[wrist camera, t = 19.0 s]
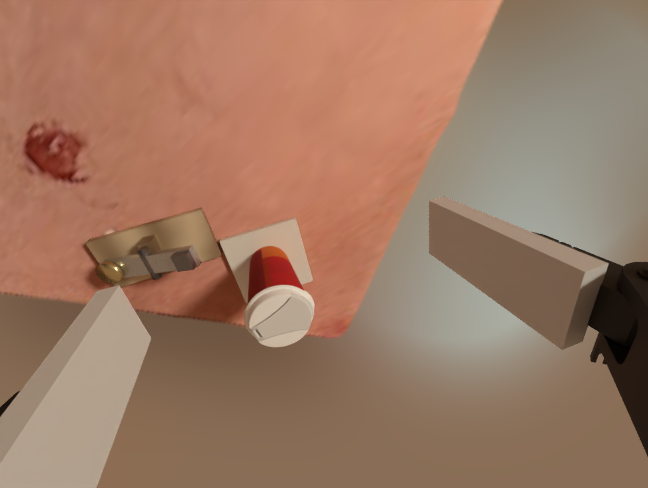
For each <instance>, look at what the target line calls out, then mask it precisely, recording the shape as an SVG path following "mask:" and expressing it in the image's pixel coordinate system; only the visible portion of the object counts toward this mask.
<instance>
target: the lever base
mask: <svg viewBox="0 0 648 488" xmlns="http://www.w3.org/2000/svg"><path fill="white" fill-rule="evenodd" d="M85 244H86V245H87V247H88V248H89V250H90V251H91V252H92V254H93V255H94V257H95V258H96V260H97V261H98V263H101V262H102V261H103V260H105V259H110V258H116V257H122V256H129V255H135V254H138V253H137V251H136V250H137V249H139V248H141V247H144V246H147V247H148V249H149V250H150V252H153V251H160V250H166V249H172V248H178V247H184V246H190V245H193V246H194V248H195V250H196V252H197V254H198V256H199V258H200V260H201V262H204V261H208V260H211V259H214V258H217V257H221V250H220V248H219V246H218V243H217V241H216V239H215V237H214V234H213V232H212V230H211V227H210V225H209V223H208V220H207V218H206V216H205V214H204V211H203V209H202V208H198V209H195V210H191V211H188V212H184V213H181V214H177V215H174V216H170V217H167V218H163V219H160V220H156V221H152V222H149V223H145V224H142V225H138V226H135V227H131V228H128V229H124V230H121V231H117V232H114V233H110V234H106V235H103V236H99V237H96V238H92V239H89V240H88V241H87V242H86V243H85ZM174 271H175V270H174ZM169 272H172V271H168V272H162V273H163V274H166V273H169ZM150 278H152V277H151V275H150V274H147V275H140V276H134V277H127V278H123V279H122V280H120V281H119V282H118V283H116V284H113V285H114V286H118V285H119V286H120V287H124V286H127V285H130V284H133V283H137V282H140V281H143V280H146V279H150Z"/></svg>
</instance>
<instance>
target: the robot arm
mask: <svg viewBox="0 0 648 488" xmlns="http://www.w3.org/2000/svg"><path fill="white" fill-rule="evenodd" d="M429 253H430V254H431V255H433V256H434V257H435V258H437V259H438V260H439V261H441V262H442V263H444V264H445V265H446V266H448V267H449V268H450V269H452V270H453V271H455V272H456V273H457V274H459V275H460V276H461V277H463V278H464V279H466V280H467V281H468V282H470V283H471V284H472V285H474V286H475V287H477V288H478V289H479V290H481V291H482V292H483V293H485V294H486V295H488V296H489V297H490V298H492V299H493V300H495V301H496V302H497V303H498V304H500V305H501V306H503V307H504V308H506V309H507V310H508V311H510V312H511V313H512V314H514V315H515V316H517V317H518V318H519V319H520V320H522V321H523V322H525V323H526V324H527V325H529V326H530V327H531V328H533V329H534V330H536V331H537V332H538V333H540V334H541V335H542V336H544V337H545V338H547V339H548V340H549V341H551V342H552V343H553V344H555V345H556V346H558V347H559V348H560V349H562V350H563V349H565V348H567V347H570V346H573V345H575V344H577V343H580V342H582V341H583V339H584V336H585V333H586V330H587V327H588V325H589V326H590V327H592V328H594V329H595V330H597V331H598V332H599V334H598V336H597V339H596V342H595V345H594V347H593V350H592V353H591V355H590V357H591V362H596V360H597V358H598V355H599V354H601V353H602V355H603V357H604V360H603V364H607V365H608V368H609V370H610V372H611V375H612V377H613V379H614V381H615V384H616V386H617V388H618V391H619V393H620V395H621V397H622V399H623V402H624V404H625V406H626V408H627V411H628V413H629V415H630V417H631V420H632V422H633V424H634V427H635V428H636V431H637V433H638V435H639V438H640V440H641V442H642V444H643V447H644V449H645V451H646V454H647V456H648V262H633V263H629V264H626V265H625V266H621V265H619V264H616V263H614V262H611V261H609V260H606V259H604V258H601V257H598V256H596V255H594V254H591V253H589V252H586V251H584V250H581V249H579V248H576V247H573V248H572V247H571V245H569V244H566V243H563V242H559V241H558V240H556V239H553V238H551V237H548V236H546V235H543V234H538V233H534V232H530V231H528V230H525V229H523V228H520V227H518V226H515V225H513V224H510V223H508V222H505V221H503V220H501V219H498V218H496V217H493V216H490V215H488V214H485V213H483V212H481V211H478V210H476V209H473V208H471V207H468V206H466V205H463V204H461V203H459V202H456V201H453V200H451V199H449V198H446V197H441V198H437V199H433V200H430V201H429ZM150 341H151V337H150V336H149V334H148V332H147V330H146V329H145V327H144V326H143V324H142V322H141V320H140V319H139V317H138V316H137V314H136V312H135V311H134V309H133V307H132V306H131V304H130V302H129V301H128V299H127V297H126V296H125V294H124V292H123V291H122V289H121V287H120V286H119V285H118V286H114V287H110V288H107V289H103V290H99V291H97V292H96V293H95V294H94V296H93V297H92V298H91V300H90V301H89V302H88V304H87V305H86V306H85V308H84V309H83V310H82V311H81V313H80V314H79V315H78V317H77V318H76V319H75V321H74V322H73V323H72V325H71V326H70V327H69V328H68V330H67V331H66V332H65V334H64V335H63V336H62V337H61V339H60V340H59V341H58V343H57V344H56V345H55V347H54V348H53V349H52V351H51V352H50V353H49V355H48V356H47V357H46V358H45V360H44V361H43V362H42V364H41V365H40V366H39V367H38V369H37V370H36V371H35V373H34V374H33V375H32V377H31V378H30V379H29V380H28V382H27V383H26V384H25V386H24V387H23V388H22V390H21V391H18V392H17V393H16V394H14V395H13V396H12V397H11V398H10V399H9V400H8V401H7V402H6V403H4V404H3V405H2V406H1V407H0V488H96V487H97V484H98V482H99V479H100V477H101V474H102V471H103V468H104V466H105V463H106V460H107V458H108V455H109V452H110V449H111V447H112V444H113V441H114V438H115V436H116V433H117V430H118V428H119V425H120V422H121V419H122V417H123V414H124V411H125V409H126V406H127V403H128V400H129V398H130V395H131V392H132V390H133V386H134V384H135V381H136V379H137V376H138V373H139V371H140V368H141V365H142V362H143V359H144V357H145V354H146V351H147V349H148V346H149V343H150Z"/></svg>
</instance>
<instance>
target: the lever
mask: <svg viewBox="0 0 648 488" xmlns="http://www.w3.org/2000/svg"><path fill="white" fill-rule="evenodd" d="M136 251H137V253H138V254H135V255H129V256H122V257H116V258H110V259H105V260H103V261H102V262H101V263H99V266H97V268H96V273H97V275H98V277H99V278H100V279H101V280H103V281H104V282H106V283H109V284H116V283H118V282H119V281H120V280H122V279H123V278H127V277H134V276H140V275H147V274H150V275H151V277H152V279H153V280H156V279H159V278H161V277H162V276H163V273H162V272H168V271H174V270H177V271H178V272H180V271H187V270H194V269H195V267H198V266H199V265H200V264H201V263H202V262H201V260H200V258H199V256H198V254H197V252H196V250H195V248H194V246H193V245H190V246H184V247H178V248H172V249H166V250H160V251H153V252H150V250H149V249H148V247H147V246H144V247H141V248H139V249H137V250H136Z"/></svg>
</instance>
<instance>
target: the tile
mask: <svg viewBox="0 0 648 488" xmlns="http://www.w3.org/2000/svg"><path fill="white" fill-rule="evenodd" d="M219 242H220V244H221V246H222V249H223V251H224V253H225V256H226V258H227V260H228V263H229V265H230V267H231V270H232V272H233V274H234V277H235V279H236V281H237V284H238V286H239V288H240V291H241V293H242V295H243V298H244V300H245V302H246V303H248V286H249V268H250V261H251V258H252V256H253V254H254V253H255V252H256V251H257V250H258V249H260V248H262V247H266V246H274V247H278V248H280V249H281V250H282V251H284V253H285V254H286V255H287V257H288V259H289V261H290V263H291V265H292V267H293V269H294V271H295V273H296V275H297V277H298V279H299V281H300V283H301V285H302V284H305V283H308V282H311V281H313V278H312V275H311V271H310V268H309V264H308V261H307V257H306V253H305V250H304V246H303V243H302V239H301V235H300V232H299V228H298V225H297V221H296V218H295V217H293V218H289V219H286V220H283V221H279V222H276V223H273V224H269V225H266V226H263V227H259V228H256V229H253V230H249V231H246V232H243V233H239V234H236V235H233V236H230V237H226V238H223V239H220V241H219Z"/></svg>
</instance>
